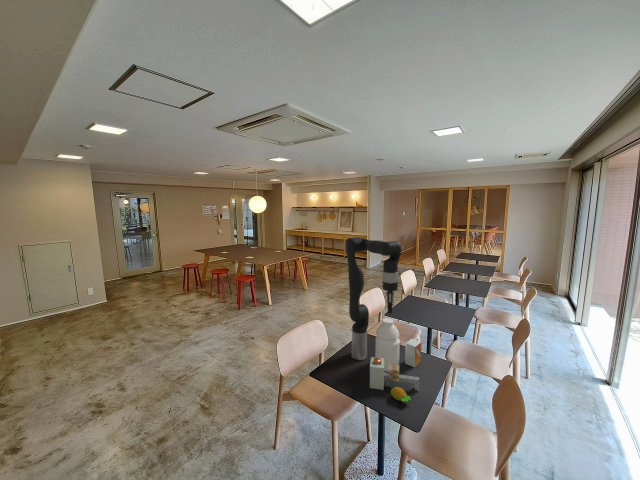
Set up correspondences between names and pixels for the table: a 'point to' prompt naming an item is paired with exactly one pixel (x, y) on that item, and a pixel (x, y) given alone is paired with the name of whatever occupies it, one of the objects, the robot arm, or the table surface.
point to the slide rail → (404, 380)
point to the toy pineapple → (400, 394)
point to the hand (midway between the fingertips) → (389, 312)
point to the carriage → (394, 373)
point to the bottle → (387, 343)
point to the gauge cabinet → (377, 374)
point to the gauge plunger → (377, 361)
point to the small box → (413, 352)
